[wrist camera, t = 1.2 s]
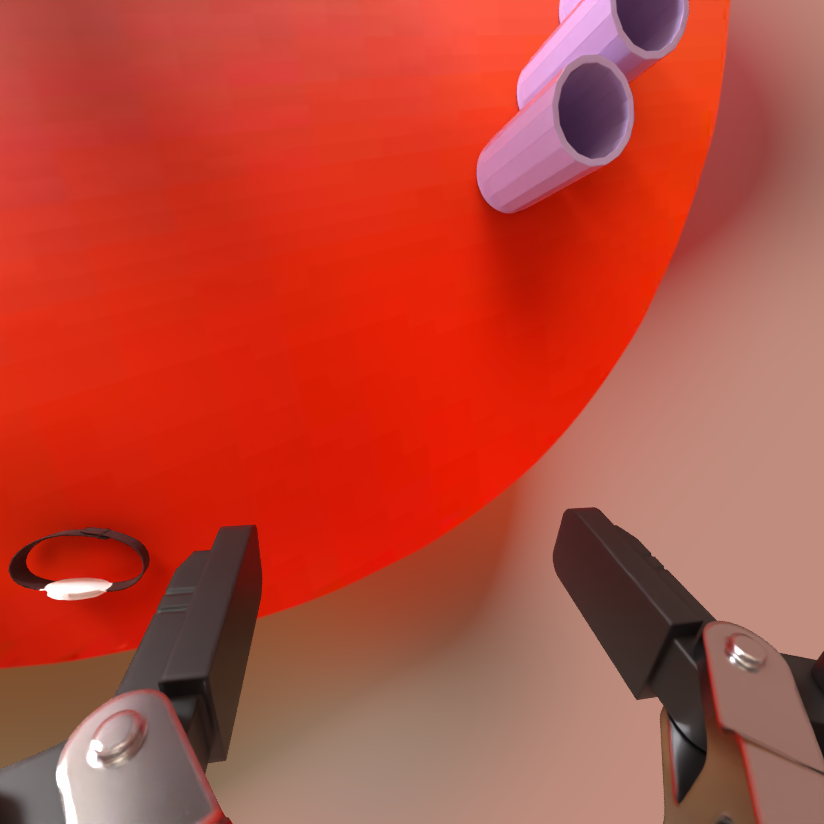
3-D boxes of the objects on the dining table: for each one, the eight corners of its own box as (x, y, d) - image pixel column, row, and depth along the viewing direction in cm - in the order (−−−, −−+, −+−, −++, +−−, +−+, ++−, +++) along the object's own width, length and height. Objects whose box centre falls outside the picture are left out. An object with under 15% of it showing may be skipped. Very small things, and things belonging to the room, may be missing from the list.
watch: (25, 579, 28) (-11, 613, 25) (32, 517, 28) (-4, 543, 24) (149, 583, 31) (132, 614, 27) (158, 526, 30) (141, 550, 27)
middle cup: (511, 57, 32) (606, -63, 22) (574, 54, 33) (687, -59, 24) (521, 139, 33) (613, 61, 24) (580, 133, 34) (690, 57, 25)
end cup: (470, 139, 32) (546, 56, 22) (534, 133, 33) (631, 52, 24) (482, 218, 33) (558, 171, 24) (542, 208, 35) (637, 161, 25)
